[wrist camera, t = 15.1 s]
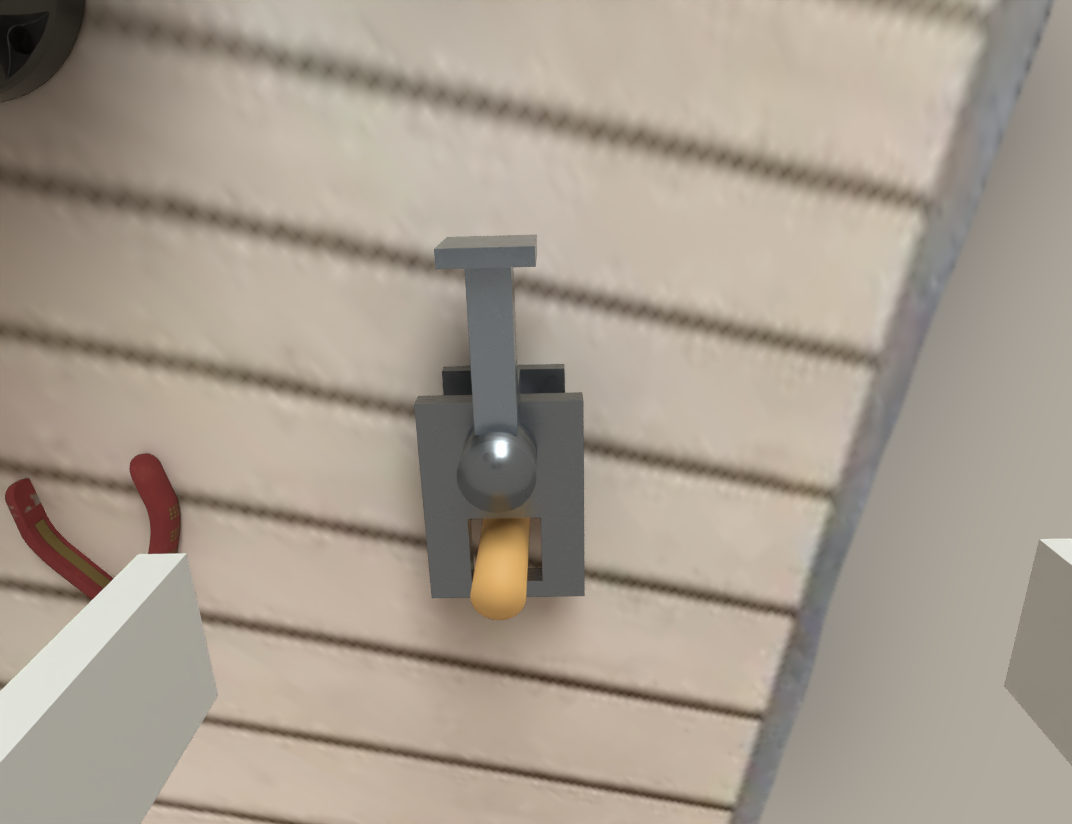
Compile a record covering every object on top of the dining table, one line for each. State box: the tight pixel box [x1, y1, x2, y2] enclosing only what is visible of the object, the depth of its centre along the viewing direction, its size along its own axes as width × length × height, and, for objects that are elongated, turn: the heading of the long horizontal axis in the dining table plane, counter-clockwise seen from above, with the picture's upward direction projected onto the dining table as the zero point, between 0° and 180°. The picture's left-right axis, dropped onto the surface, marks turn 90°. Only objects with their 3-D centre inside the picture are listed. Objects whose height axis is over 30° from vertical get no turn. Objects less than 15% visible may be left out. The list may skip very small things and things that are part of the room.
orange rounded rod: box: [470, 518, 530, 620], centre depth 47 cm, size 3×3×11 cm
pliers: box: [5, 454, 180, 600], centre depth 54 cm, size 12×20×3 cm, turn 12°
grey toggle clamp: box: [414, 235, 585, 598], centre depth 44 cm, size 10×23×10 cm, turn 2°
